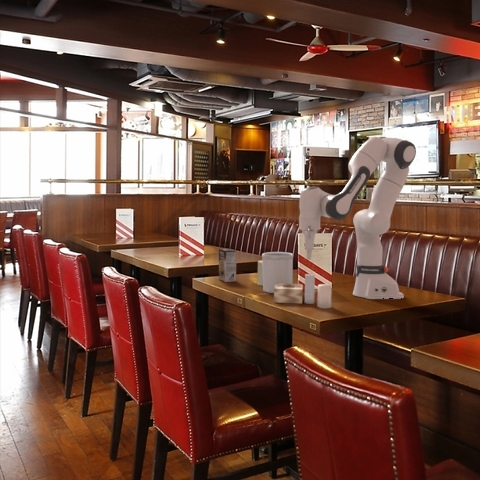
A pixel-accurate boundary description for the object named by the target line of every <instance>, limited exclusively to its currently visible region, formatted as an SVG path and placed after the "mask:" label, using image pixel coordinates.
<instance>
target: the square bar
mask: <svg viewBox="0 0 480 480" xmlns="http://www.w3.org/2000/svg"><path fill="white" fill-rule="evenodd" d="M304 276H305V277H304V304H305V303H306V305H307V304H308V305H309V304H310V305H312V304H315V289H316V287H315V285H316V281H315V280H316V274H315V273H305V274H304Z"/></svg>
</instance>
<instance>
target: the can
mask: <svg viewBox="0 0 480 480" xmlns="http://www.w3.org/2000/svg"><path fill="white" fill-rule="evenodd" d="M256 285H258V286H262V287H263V264H262V259H261V260H258V261H257V284H256Z"/></svg>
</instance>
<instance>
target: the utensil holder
mask: <svg viewBox="0 0 480 480" xmlns="http://www.w3.org/2000/svg"><path fill="white" fill-rule="evenodd" d="M261 258H262V259H261V260H262V264H263V286H262V289H263V290H262V291H263V292H264V293H265V292H266V293H269V294H274V287H275V284H276V283H279V284H293V273H294V272H293V271H294V270H293V266H294V265H293V264H294V263H293V261H294V259H293V258H294V253H291V252H286V251H284V252H283V251H270V252H269V251H267V252H263V253H262V254H261Z"/></svg>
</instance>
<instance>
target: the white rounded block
mask: <svg viewBox="0 0 480 480" xmlns="http://www.w3.org/2000/svg"><path fill="white" fill-rule="evenodd" d="M316 299H317V305H316V307H317V308H318V307H319V309H331V308H332V285H331V284H327V283H320V284H318V285H317V297H316Z"/></svg>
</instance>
